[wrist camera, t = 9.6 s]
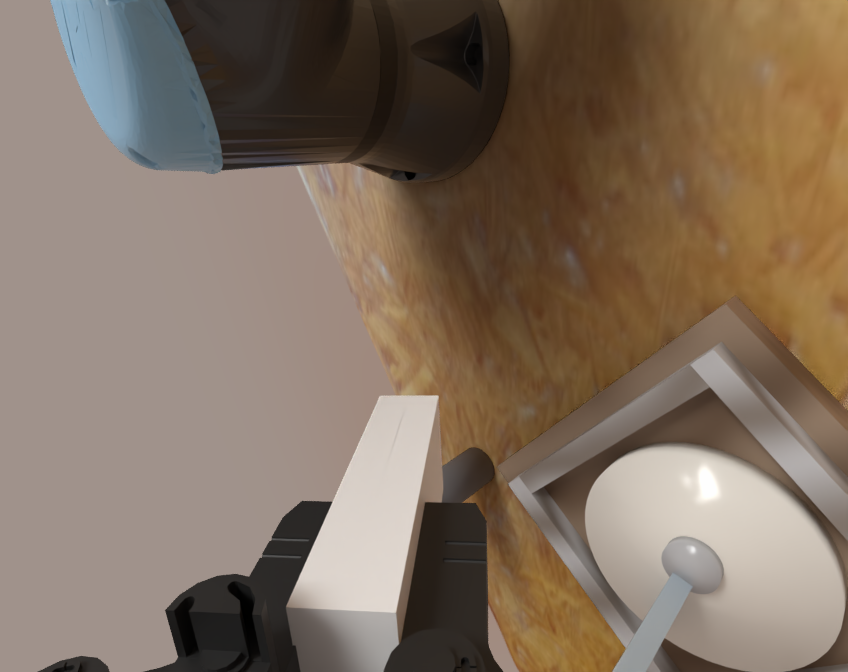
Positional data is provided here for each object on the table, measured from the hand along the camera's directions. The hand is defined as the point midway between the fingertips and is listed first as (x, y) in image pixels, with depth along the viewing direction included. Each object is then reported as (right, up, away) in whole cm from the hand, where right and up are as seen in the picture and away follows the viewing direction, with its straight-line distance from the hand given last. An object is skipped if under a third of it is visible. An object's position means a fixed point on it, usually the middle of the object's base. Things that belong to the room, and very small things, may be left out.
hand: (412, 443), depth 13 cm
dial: (+18, -10, +19) cm, 28 cm away
